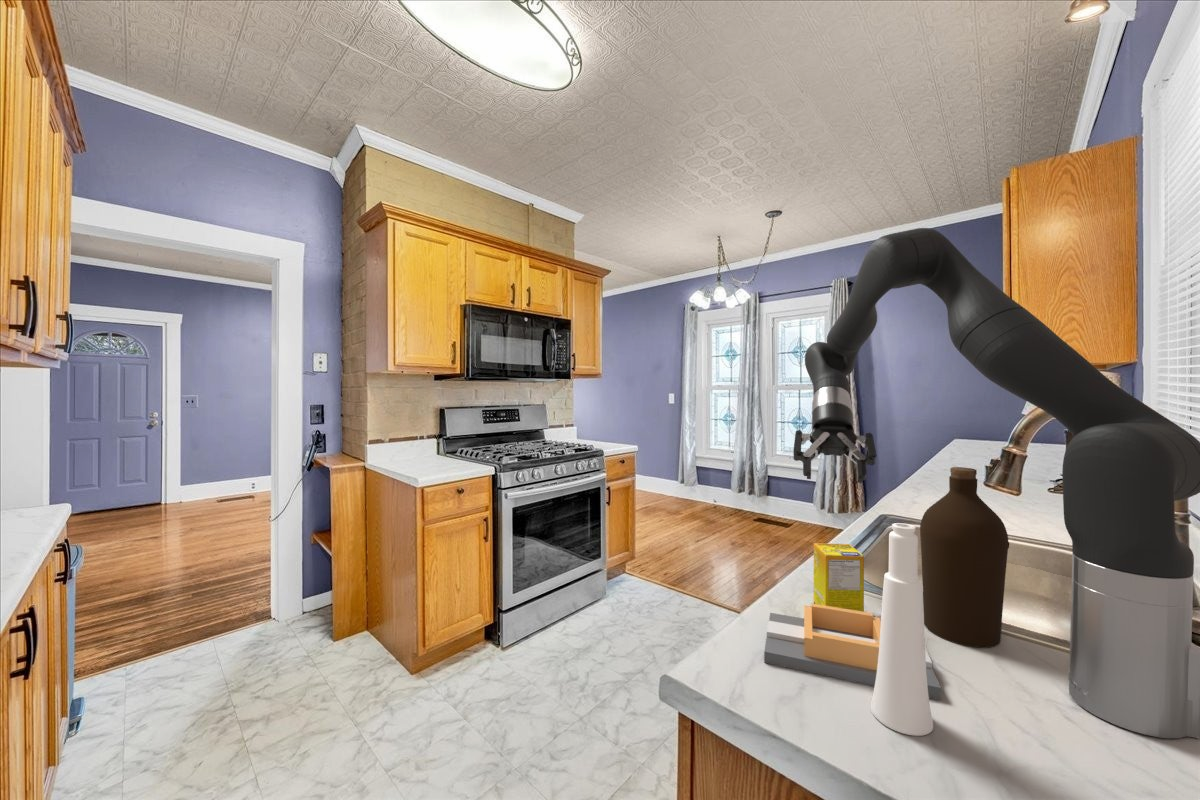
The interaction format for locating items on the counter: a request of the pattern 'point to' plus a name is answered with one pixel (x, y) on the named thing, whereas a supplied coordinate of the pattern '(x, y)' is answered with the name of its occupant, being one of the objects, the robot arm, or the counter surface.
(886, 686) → the cosmetic bottle
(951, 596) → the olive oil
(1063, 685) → the counter surface
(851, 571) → the supplement box
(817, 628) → the rail mount
